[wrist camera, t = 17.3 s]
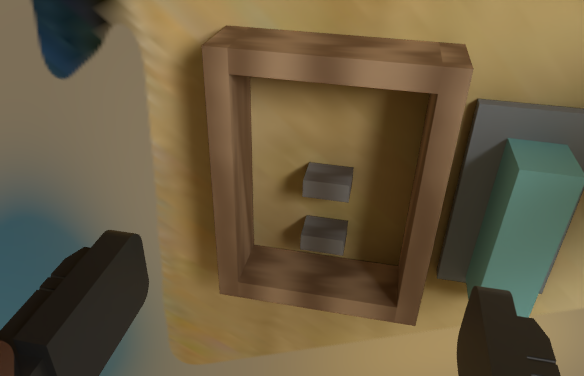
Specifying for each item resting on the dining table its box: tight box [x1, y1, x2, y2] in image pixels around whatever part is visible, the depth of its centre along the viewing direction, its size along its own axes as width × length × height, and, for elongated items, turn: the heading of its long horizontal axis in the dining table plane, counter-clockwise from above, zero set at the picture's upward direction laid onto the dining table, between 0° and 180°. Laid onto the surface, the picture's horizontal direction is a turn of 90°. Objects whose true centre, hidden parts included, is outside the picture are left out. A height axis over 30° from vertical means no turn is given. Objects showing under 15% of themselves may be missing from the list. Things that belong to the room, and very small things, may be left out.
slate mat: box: [437, 99, 584, 294], centre depth 40 cm, size 9×17×1 cm, turn 179°
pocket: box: [202, 26, 473, 326], centre depth 40 cm, size 18×23×5 cm
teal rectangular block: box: [466, 138, 584, 318], centre depth 39 cm, size 4×14×5 cm, turn 178°
